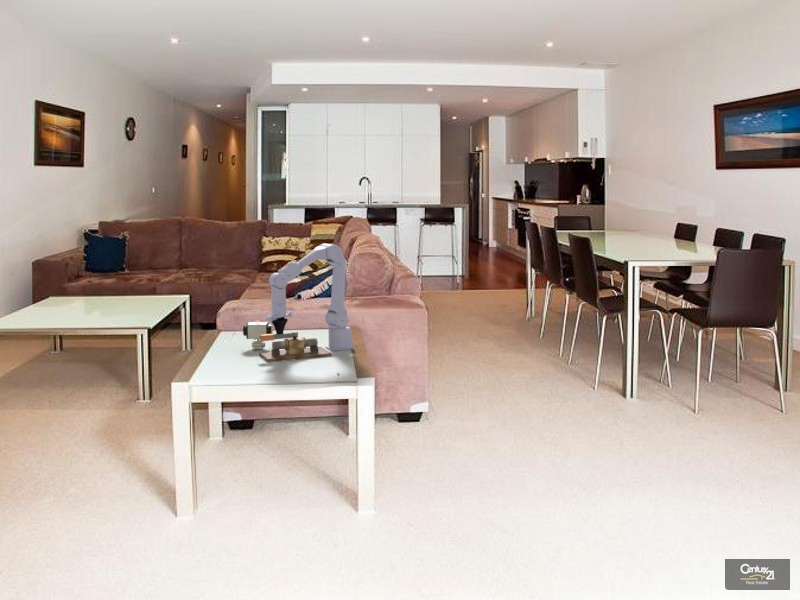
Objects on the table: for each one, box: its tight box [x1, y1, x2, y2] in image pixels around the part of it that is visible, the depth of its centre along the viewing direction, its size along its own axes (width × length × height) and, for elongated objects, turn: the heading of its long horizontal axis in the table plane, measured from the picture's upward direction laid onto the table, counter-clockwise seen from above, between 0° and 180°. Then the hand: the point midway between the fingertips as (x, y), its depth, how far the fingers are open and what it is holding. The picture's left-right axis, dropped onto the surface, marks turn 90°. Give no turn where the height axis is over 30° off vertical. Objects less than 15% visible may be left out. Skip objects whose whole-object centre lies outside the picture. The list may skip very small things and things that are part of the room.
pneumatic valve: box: [242, 320, 274, 350], centre depth 335 cm, size 6×12×12 cm, turn 90°
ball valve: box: [258, 336, 333, 363], centre depth 322 cm, size 26×14×7 cm, turn 113°
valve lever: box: [260, 331, 299, 342], centre depth 318 cm, size 15×3×2 cm, turn 117°
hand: (279, 336), depth 321 cm, fingers closed
